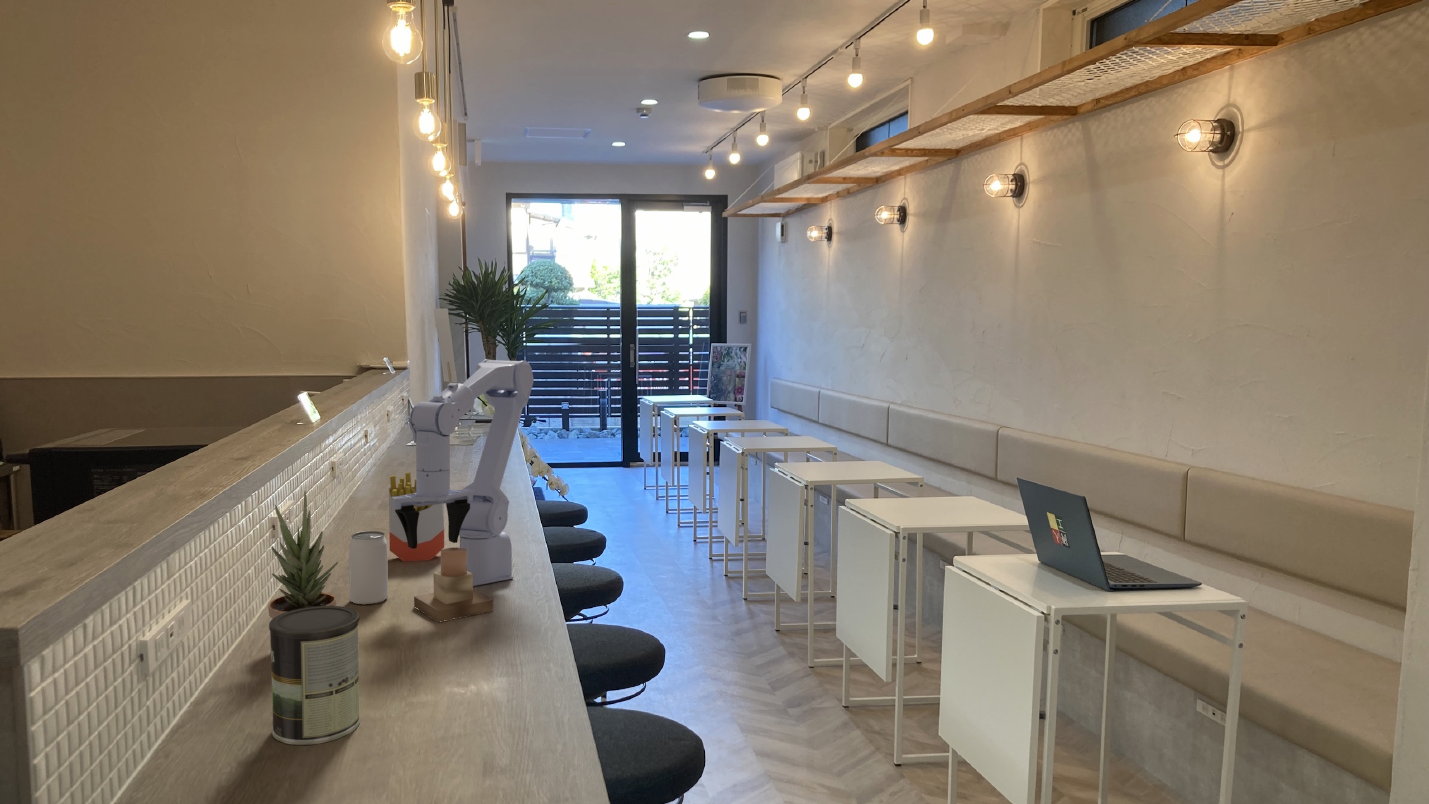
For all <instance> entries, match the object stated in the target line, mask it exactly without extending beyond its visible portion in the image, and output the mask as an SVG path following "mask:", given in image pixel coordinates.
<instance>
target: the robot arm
mask: <svg viewBox="0 0 1429 804" xmlns="http://www.w3.org/2000/svg"><path fill="white" fill-rule="evenodd" d="M534 381H535V380H534V374H533V369H532V367H531V365H530V363H529V362H528V361H527V360H501V359H499V360H496V359H489V358H485V359H482V361H481V362H479V363H477V365H476V369H475V372H474V373H472V375H471V376H470V377H468V378H467V379H466V380H465V381H464V382H463V383H460V382H459V383H457V382H450V383H448V384H447V385H446V386H447V387H446V388H445V389H444V390H442V391H441V392H440V393H439V394H435V395H434V396H433V397H432V398H431V399H430V400H429V401H420V402H417V404H415V405H414V406H413V407H412V409H411V411H410V413H409V417H408V425H409V428H410V430H411V432H412V441H413V444H415V445H416V446H415V447H416V449H415V452H416V453H415V459H416V460H415V463H416V464H415V466H416V467H415V469H416V470H415V471H416V472H415V473H416V476H415V479H416V493H413V494H408V495H403V496H397V497H391V508H393V509H395V512H396V514H397V516H398V517H399V519H400V521H401V523H402V526H403V528H404V531H405V534H406V538H407V542H408V547H410V548H412V549H415V548H417V525H418V518H419V512H418V511H416V509H414V507H417V506H425V505H434V504H443V503H444V504H445V505H446V511H447V519H448V527H447V528H448V529H447V530H448V531H447V532H448V533H447V534H448V535H447V537H448V541H449V542H451V543H453V544H457V543H458V540H459V548H465V549H467V571H468V572H470V573H472V574H473V587H476V586H480V585H486V584H491V583H497V582H501V581H506V580H507V581H508V580H513V579H514V578H515V577H514V575H513V574H512V573H513V572H512V571H513V570H512V569H513V568H512V567H513V566H512V561H513V559H512V558H513V557H512V556H513V555H512V554H513V553H512V552H513V549H512V548H513V547H512V542H511V538H510V536H509V535H508V533H507V532H505V531H503V530H505V528H506V525H507V523H508V517H509V514H508V511H509V505H510V500H509V499H508V497H507V495H506V494H505V493H504V492H503V491H502V490H501V486H502V483H503V480H504V475H505V472H506V468H507V466H508V461H509V459H510V458H509V457H510V454H511V451H512V447H513V444H514V441H515V437H516V434H517V431H518V426H519V423H520V419H521V416H522V414H523V413H522V412H523V409H524V407H526V406H527V405H528V402H529V399H530V396H531V392H532V388H533V385H534ZM482 395H483V396H484V398H485V400H486V403H487V404H488V405H490V406H492V407H493V409H494V413H493V415H492V420H491V423H490V425H489V429H488V432H487V435H486V439H485V442H484V446H483V448H482V453H481V455H480V460H479V462H478V466H477V469H476V472H475V476H474V479H473V482H471V483H470V484H468V485H467V486H465V487H463V488H462V489H451V488H450V484H451V483H450V481H451V477H450V476H451V475H450V472H451V470H450V469H451V465H450V464H451V461H450V460H451V457H450V456H451V455H450V454H451V453H450V451H451V448H450V445H451V444H450V443H451V437H450V435H451V434H453V433H454V431H455V430H456V427H457V424H458V423H459V421H460V420H461V418H462V417H463V416H465V415H466V414H467V413H468V412H470V411H471V410H472V409H473V408H474V407H475V403H476V402H475V399H477V398H479V397H480V396H482ZM450 489H451V490H450ZM428 501H431V502H428Z"/></svg>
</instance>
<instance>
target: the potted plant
mask: <svg viewBox="0 0 1429 804" xmlns="http://www.w3.org/2000/svg"><path fill="white" fill-rule="evenodd" d="M303 492H304V493H303V508H302V510H303V511H302V525H301V530H300V527H299V525H297V532H296V533H297V534H296V535H297V538H296V539H297V542H296V540H295V539H294V536H293V535H292V533H291V530H290V529H289V527H288V524H287V523H286V521H285V519H284V517H283V515H282V514H281V512H280V510H279V508H278V505H276V504H274V507H275V509H274V510H275V513H276V516H277V519H278V521H279V528H280V531H281V532H280V533H281V535H282V539H283V542H284V544H285V546H284V545H283V543H282V541H279V545H280V549H281V551H282V553H283V555H284V556H283V555H282V554H280V552H278V551H277V550H276V549H275V548H274V547H273V546H271V551H272V552H273V554H274V555H275V557H276V558H277V560H278V562H279V564H280V566H281V568H282V570H283V572H284V573H285V575H284V574H281V575H280V574H278V575H276V574H275V573H271V575H272V576H273V578H274V579H276V580H277V581H278V582H279V583H281V585H283V586H284V587H285V588H286V590H287V591H288V592H289V593H288V592H287V591H286V590H284V589H281V588H279V589H278V590H279V592H281V593H282V594H283V595H281V596H278V597H276V598H273V599H272V600H271V601H269V603H268V605H267V606H268V616H269V618H271V620H272V619H273V618H275V617H276V616H278V615H280V614H283V613H285V612H288V611H292V610H296V609H301V608H306V607H315V606H337V605H336V603H337V598H336V596H335V595H334V594H332V593H328V592H323V590H324V589H325V587H326V585H325V584H326V582H327V581H328V579H329V578H330V576H332V575H331V574H332V572H331V571H332V570H333V569H334V568H335V567H336V566H337V565H338V563H339V561H336V562H335V563H334V564H333V565H332V566H331V567H330V568H329V569H328V570H326V571H325V572H324V573H322V574H321V575H320V573H321V571H322V570H323V567H324V565H323V564H321V563H322V559H321V558H322V555H323V552H324V550H325V545H324V544H323V545H322V547H321V543H322V539H323V532H324V531H323V530H321V531H320V532H319V535H318V537H317V539H316V540H315V542H314V543H313V544H312V546H311V545H310V544H311V542H310V541H311V534H312V529H311V528H312V526H311V520H312V519H311V518H312V516H311V510H308V504H307V503H308V501H307V492H306V490H304V491H303ZM310 546H311V547H310ZM320 547H321V548H320ZM319 575H320V576H319Z"/></svg>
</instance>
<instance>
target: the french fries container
mask: <svg viewBox="0 0 1429 804" xmlns="http://www.w3.org/2000/svg"><path fill="white" fill-rule="evenodd" d="M404 474H405V477H399V482H398V483H397V477H396V474H395V475H390V476H389V480H390V481H389V483H390V487H389V489H388V507H389V508H388V510H389V511H388V514H389V516H388V517H389V519H388V520H389V522H388V523H389V525H388V527H389V529H388V533H389V534H388V535H389V538H388V539H389V551H390V552H391V553H392V554H394V555H395V556H396V557H397V558H398V559H400V560H401V561H402V562H417V561H418V562H419V561H430V560H431V561H432V559H434V557H436V556H437V555H438V554H439V553H441V550H443V549H445V522H444V520H445V519H444V518H445V515H444V513H445V511H444V509H445V508H444V507H445V506H444V504H445V503H443V504H434V505H425V506H417V507H414V509H416V511H418V512H419V518H418V525H417V548H415V549H412V548H410V547H408V542H407V538H406V534H405V531H404V528H403V526H402V523H401V521H400V519H399V517H398V516H397V514H396V512H395V509H393V508H391V497H397V496H403V495H408V494H413V493H416V478H415V479H414V484H413V485H414V486H412V481H411V480H412V478H411V472H405V473H404ZM397 485H398V486H397ZM428 502H431V501H428Z"/></svg>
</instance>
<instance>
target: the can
mask: <svg viewBox="0 0 1429 804" xmlns="http://www.w3.org/2000/svg"><path fill="white" fill-rule="evenodd" d="M350 537H351V539H350V541H349V543H348V574H349V575H348V576H349V577H348V579H349V601H350V602H351V603H352V602H353V603H352V604H354V603H356V604H355V605H357V604H372V605H374V604H373V603H378V604H380V603H379V602H381V603H383V602H385V601H386V600H387V598H388V596H389V580H388V579H389V574H388V573H389V572H388V571H389V570H388V569H389V568H388V562H389V561H388V540H387V539H386V537H385V532H383V531H377V530H369V531H368V530H367V531H359V532H355V533H353V534H351V535H350ZM385 599H386V600H385ZM384 600H385V601H384ZM382 601H383V602H382Z"/></svg>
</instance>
